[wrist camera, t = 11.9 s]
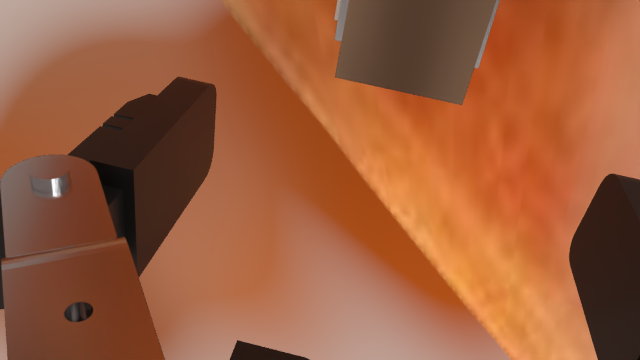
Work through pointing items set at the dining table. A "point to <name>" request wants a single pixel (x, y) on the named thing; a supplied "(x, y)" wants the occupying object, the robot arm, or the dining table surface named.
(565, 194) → the dining table surface
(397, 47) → the walnut block
